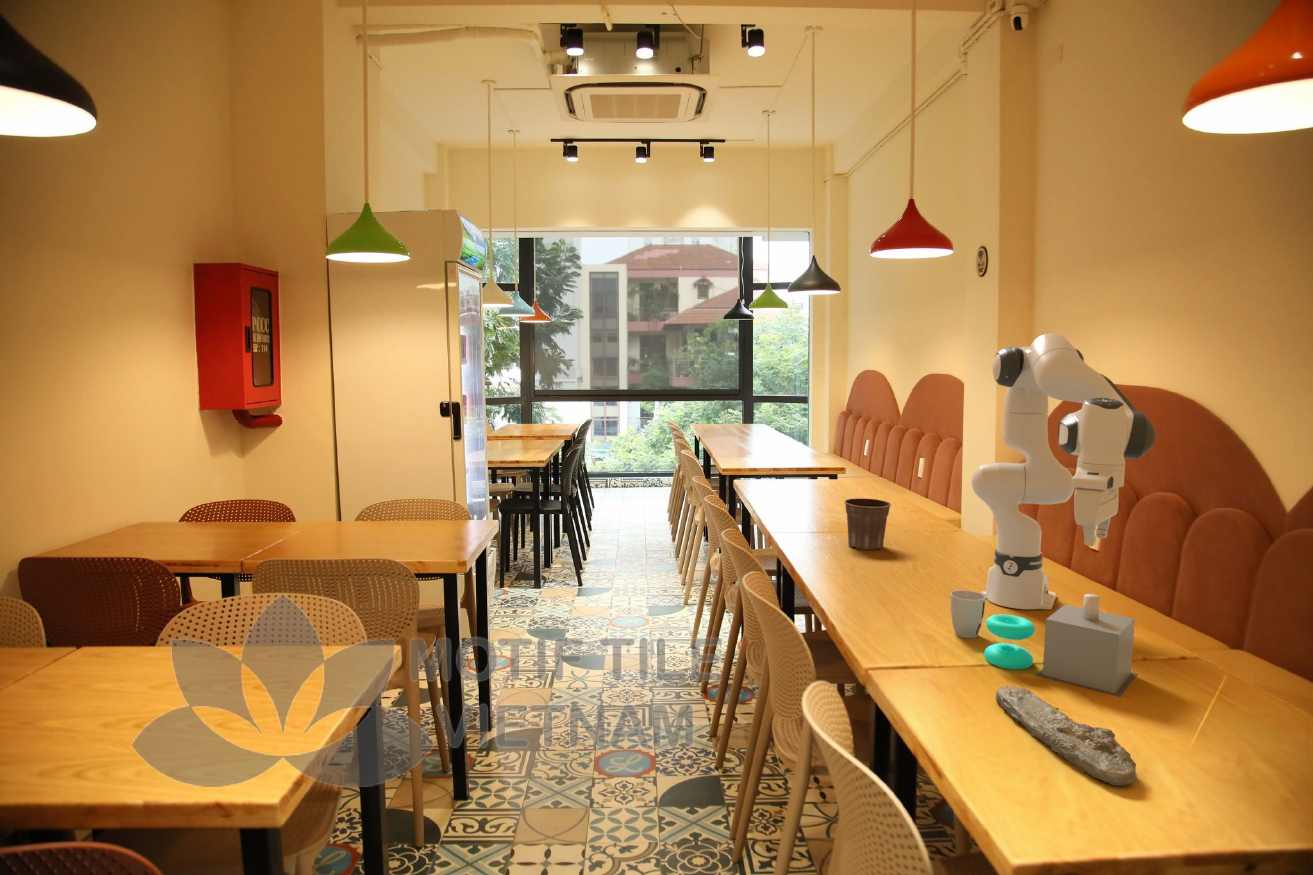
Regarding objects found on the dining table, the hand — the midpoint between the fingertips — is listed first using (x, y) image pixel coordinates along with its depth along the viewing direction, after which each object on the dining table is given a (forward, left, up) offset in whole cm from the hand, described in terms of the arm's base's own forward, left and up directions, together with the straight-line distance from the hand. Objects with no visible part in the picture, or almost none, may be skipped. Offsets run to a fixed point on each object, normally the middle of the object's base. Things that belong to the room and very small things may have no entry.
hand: (1095, 541), depth 169 cm
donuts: (+4, -15, -30) cm, 34 cm away
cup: (-8, -29, -30) cm, 42 cm away
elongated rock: (+34, +4, -30) cm, 46 cm away
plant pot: (-75, -91, -30) cm, 122 cm away
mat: (0, 0, -30) cm, 30 cm away
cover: (0, 0, -29) cm, 29 cm away
